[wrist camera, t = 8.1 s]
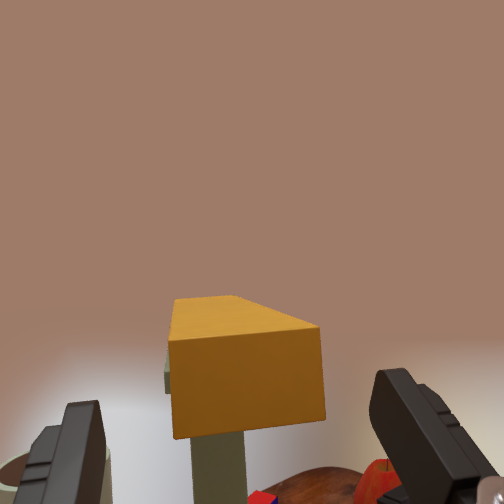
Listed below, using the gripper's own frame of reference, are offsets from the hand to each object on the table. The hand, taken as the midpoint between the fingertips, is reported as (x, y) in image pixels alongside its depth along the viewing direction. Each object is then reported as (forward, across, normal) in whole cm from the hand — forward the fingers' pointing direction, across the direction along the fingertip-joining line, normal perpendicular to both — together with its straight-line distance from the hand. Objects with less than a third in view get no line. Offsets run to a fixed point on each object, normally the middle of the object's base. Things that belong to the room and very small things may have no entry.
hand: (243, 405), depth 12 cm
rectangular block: (+6, 0, +4) cm, 8 cm away
